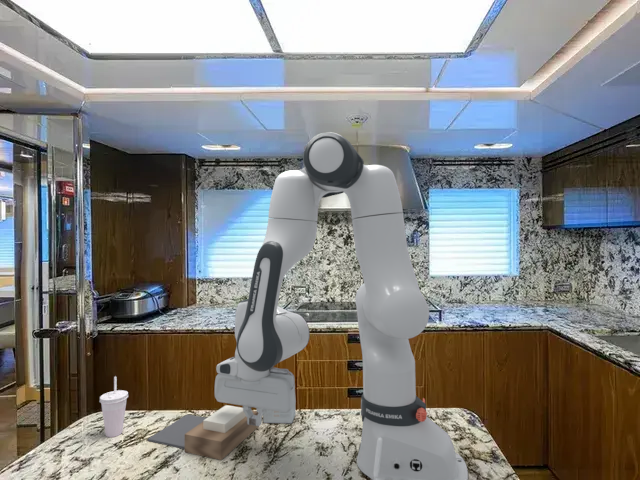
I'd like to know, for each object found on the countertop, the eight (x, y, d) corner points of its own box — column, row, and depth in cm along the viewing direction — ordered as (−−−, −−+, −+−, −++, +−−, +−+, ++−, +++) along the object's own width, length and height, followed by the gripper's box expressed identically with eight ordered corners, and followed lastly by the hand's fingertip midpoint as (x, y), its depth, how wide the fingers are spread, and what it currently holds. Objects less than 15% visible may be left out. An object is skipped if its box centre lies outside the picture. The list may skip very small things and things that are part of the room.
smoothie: (133, 427, 97) (133, 373, 97) (120, 439, 90) (120, 381, 91) (108, 427, 96) (108, 373, 97) (93, 440, 90) (93, 382, 90)
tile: (246, 416, 93) (246, 408, 93) (225, 433, 85) (224, 424, 85) (226, 412, 95) (226, 405, 95) (203, 428, 87) (203, 420, 87)
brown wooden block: (258, 426, 96) (258, 411, 96) (221, 460, 81) (221, 441, 81) (226, 421, 99) (225, 406, 99) (184, 451, 84) (184, 434, 84)
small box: (295, 414, 103) (295, 376, 103) (292, 424, 97) (291, 383, 97) (267, 413, 104) (267, 375, 104) (262, 423, 98) (262, 383, 98)
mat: (223, 422, 98) (223, 420, 98) (187, 449, 85) (187, 447, 85) (187, 416, 103) (187, 414, 103) (147, 440, 90) (147, 438, 90)
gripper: (299, 365, 87) (300, 425, 86) (226, 357, 94) (226, 412, 94) (288, 374, 81) (288, 438, 80) (210, 365, 88) (210, 423, 88)
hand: (254, 424), depth 87 cm, fingers closed
